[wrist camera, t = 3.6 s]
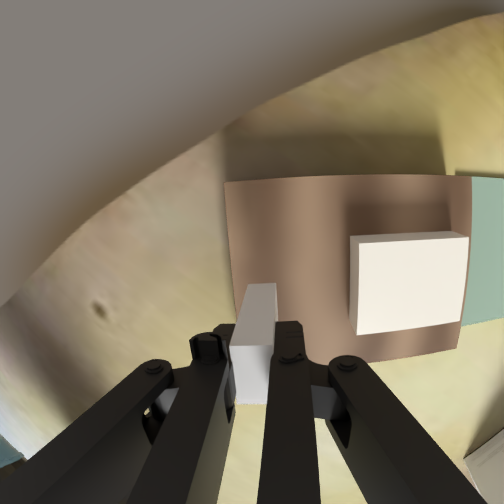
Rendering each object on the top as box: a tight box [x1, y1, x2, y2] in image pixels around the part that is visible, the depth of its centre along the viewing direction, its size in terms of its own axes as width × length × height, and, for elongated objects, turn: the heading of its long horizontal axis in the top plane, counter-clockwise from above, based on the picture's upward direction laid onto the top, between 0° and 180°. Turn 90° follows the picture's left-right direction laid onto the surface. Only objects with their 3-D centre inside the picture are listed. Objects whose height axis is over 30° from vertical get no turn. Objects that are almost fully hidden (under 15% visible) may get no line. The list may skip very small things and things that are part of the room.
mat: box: [461, 177, 504, 326], centre depth 23 cm, size 12×14×1 cm
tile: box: [349, 231, 469, 335], centre depth 19 cm, size 8×6×2 cm
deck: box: [224, 174, 472, 365], centre depth 23 cm, size 18×14×4 cm
